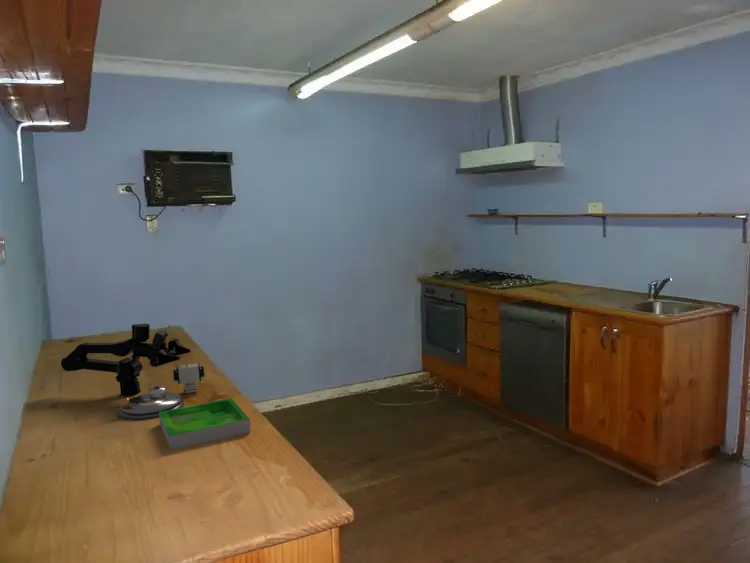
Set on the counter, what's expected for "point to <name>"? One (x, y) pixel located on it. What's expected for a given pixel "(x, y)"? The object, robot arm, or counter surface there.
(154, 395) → the cover
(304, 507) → the counter surface
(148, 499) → the counter surface
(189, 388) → the pneumatic valve
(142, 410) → the turntable
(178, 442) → the tray
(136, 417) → the turntable base
